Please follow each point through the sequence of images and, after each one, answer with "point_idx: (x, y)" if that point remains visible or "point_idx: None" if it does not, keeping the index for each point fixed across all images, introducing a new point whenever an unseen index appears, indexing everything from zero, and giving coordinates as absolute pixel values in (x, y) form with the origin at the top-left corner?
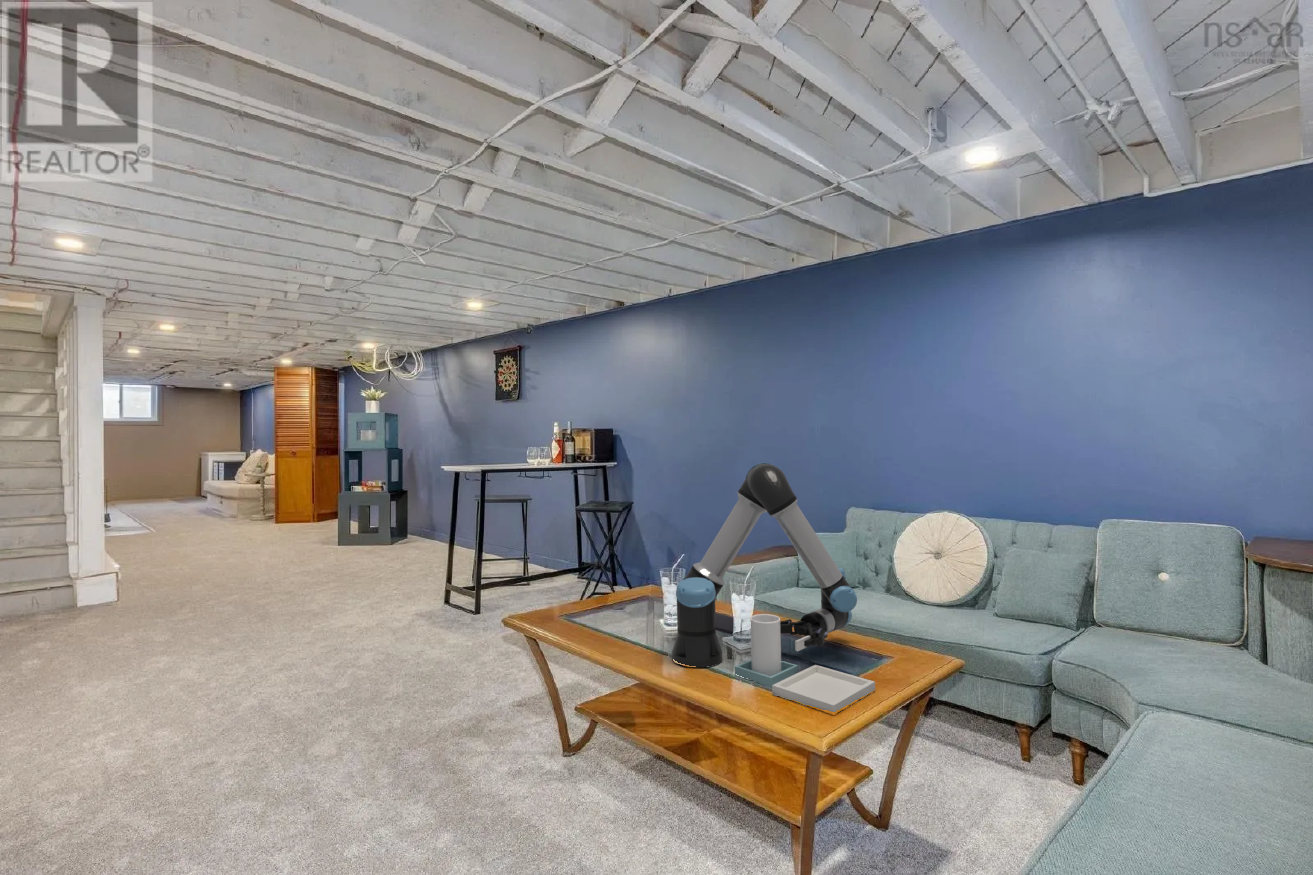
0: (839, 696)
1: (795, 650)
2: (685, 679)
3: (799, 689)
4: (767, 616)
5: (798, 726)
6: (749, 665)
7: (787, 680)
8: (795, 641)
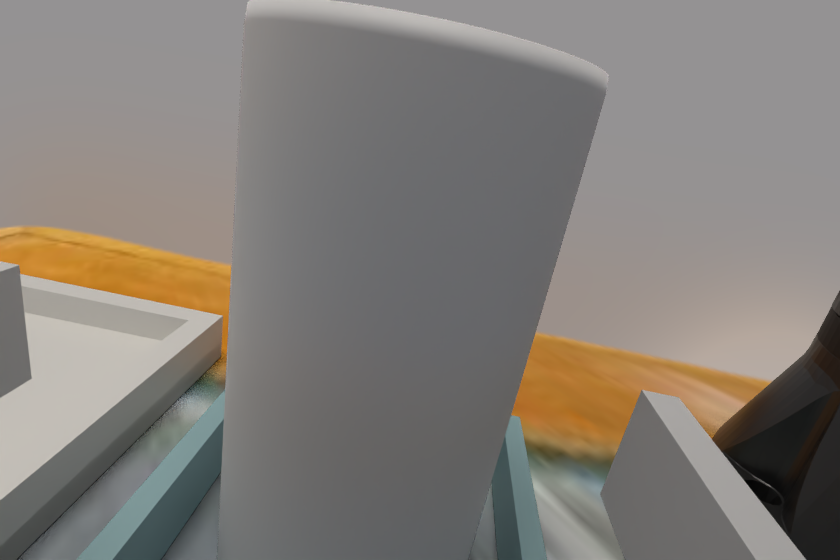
0: None
1: (29, 374)
2: (605, 371)
3: (59, 375)
4: (514, 80)
5: (95, 253)
6: (508, 534)
7: (140, 359)
8: (13, 270)
